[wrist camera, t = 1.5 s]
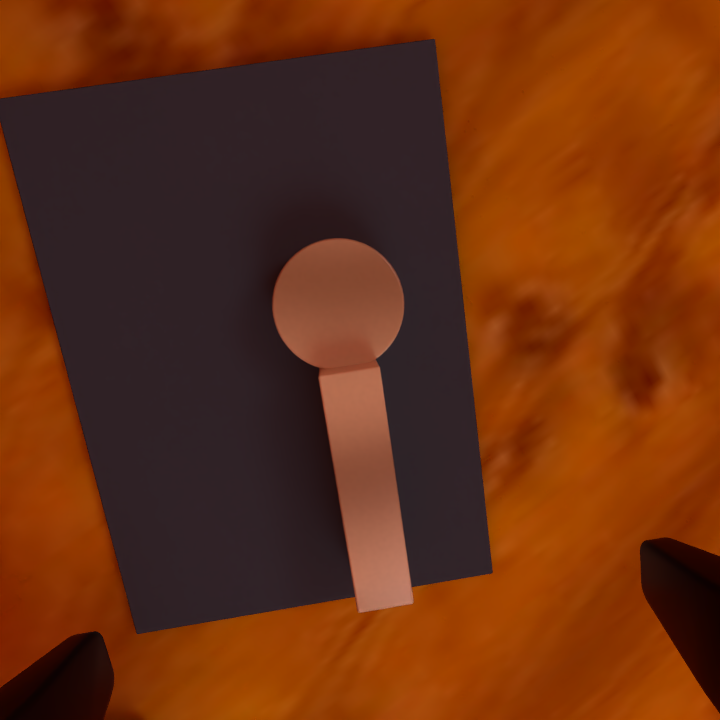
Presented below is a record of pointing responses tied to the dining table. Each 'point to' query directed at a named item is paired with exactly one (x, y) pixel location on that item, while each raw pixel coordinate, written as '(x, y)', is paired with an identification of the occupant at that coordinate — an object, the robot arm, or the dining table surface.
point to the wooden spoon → (352, 397)
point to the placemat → (249, 318)
